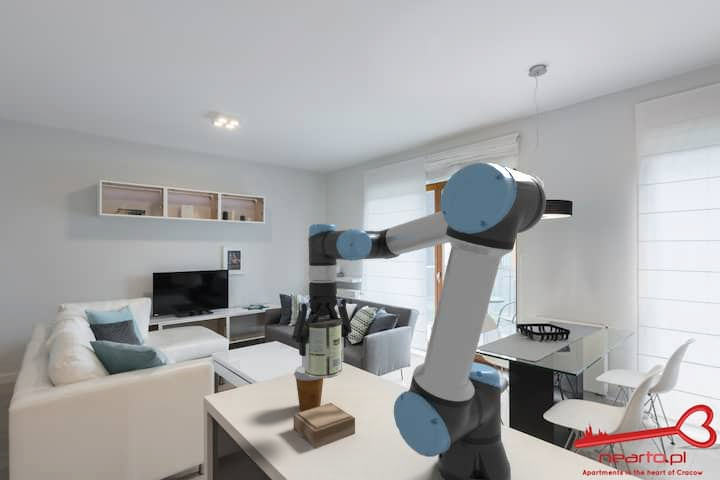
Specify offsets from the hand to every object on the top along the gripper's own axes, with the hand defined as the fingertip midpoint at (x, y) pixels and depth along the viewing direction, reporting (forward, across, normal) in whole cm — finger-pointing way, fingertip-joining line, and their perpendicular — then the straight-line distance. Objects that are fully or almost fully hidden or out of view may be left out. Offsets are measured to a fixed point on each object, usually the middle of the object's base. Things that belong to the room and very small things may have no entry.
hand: (323, 363), depth 97 cm
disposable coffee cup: (+18, -4, -15) cm, 24 cm away
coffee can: (+2, 0, 0) cm, 2 cm away
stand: (+18, 0, 0) cm, 18 cm away
